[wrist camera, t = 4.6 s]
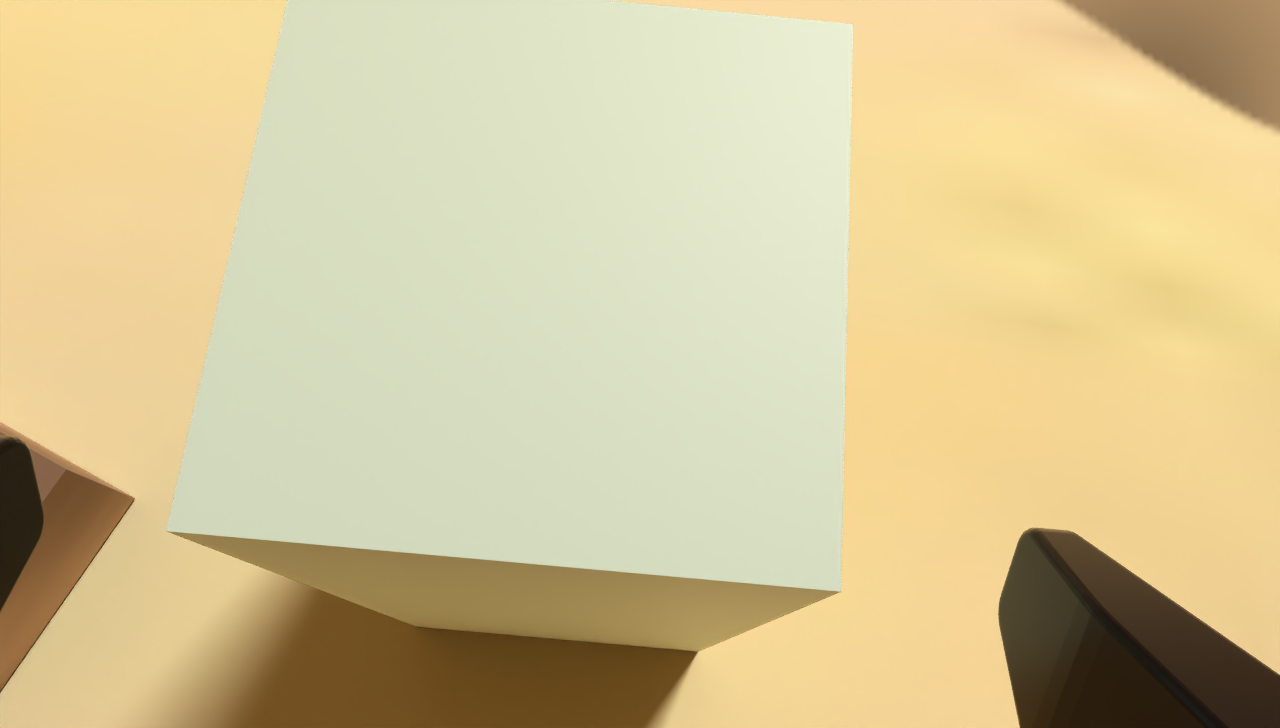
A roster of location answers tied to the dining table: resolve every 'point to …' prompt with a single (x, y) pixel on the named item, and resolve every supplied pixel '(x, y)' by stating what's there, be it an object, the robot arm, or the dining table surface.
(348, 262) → the sage block
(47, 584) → the walnut base
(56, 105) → the dining table surface
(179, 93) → the dining table surface
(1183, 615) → the robot arm
